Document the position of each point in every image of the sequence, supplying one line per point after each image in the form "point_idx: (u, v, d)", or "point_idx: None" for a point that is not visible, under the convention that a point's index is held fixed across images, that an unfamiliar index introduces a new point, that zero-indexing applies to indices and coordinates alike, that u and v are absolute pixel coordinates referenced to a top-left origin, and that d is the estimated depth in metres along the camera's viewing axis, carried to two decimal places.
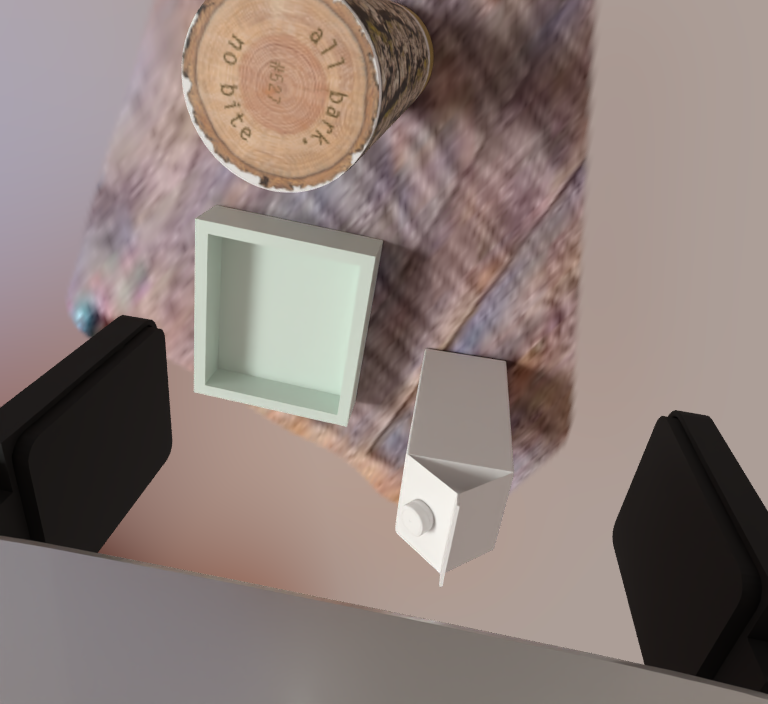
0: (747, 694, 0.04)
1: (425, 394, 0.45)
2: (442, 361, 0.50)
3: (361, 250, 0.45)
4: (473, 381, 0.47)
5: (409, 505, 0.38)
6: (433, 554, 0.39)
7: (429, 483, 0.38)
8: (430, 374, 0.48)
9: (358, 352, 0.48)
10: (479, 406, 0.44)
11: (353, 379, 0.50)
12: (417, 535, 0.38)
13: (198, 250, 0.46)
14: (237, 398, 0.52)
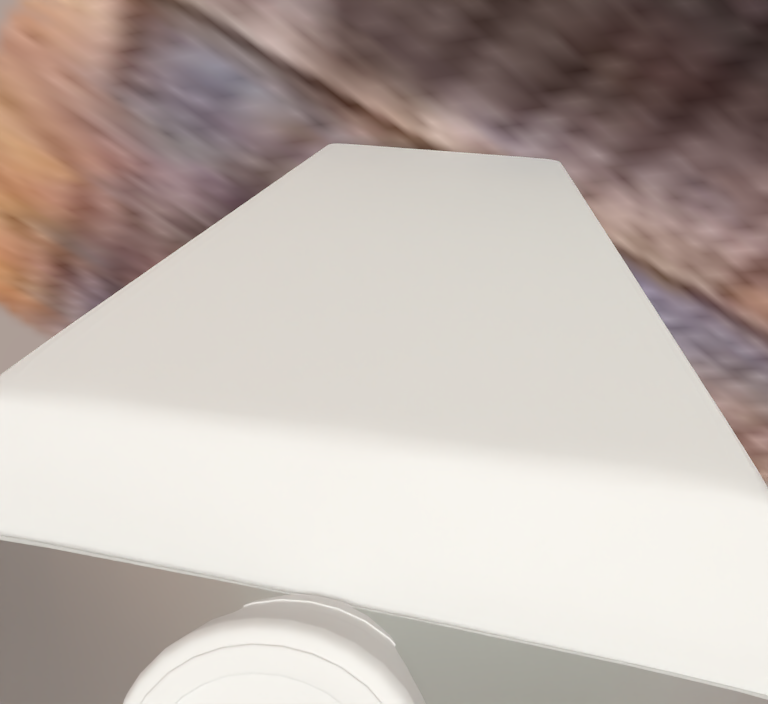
0: (747, 694, 0.04)
1: None
2: None
3: None
4: None
5: None
6: None
7: None
8: None
9: None
10: None
11: None
12: None
13: None
14: None
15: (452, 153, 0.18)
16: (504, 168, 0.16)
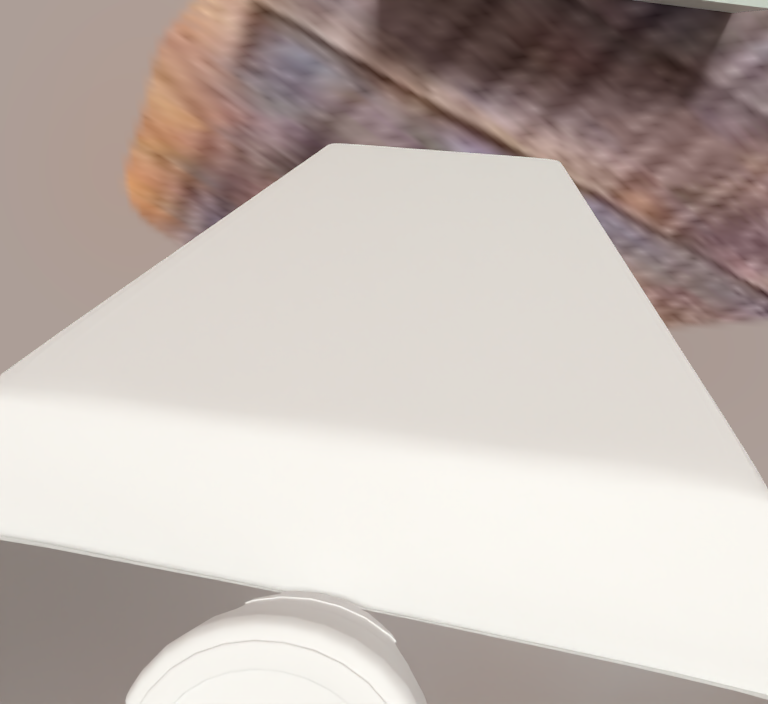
0: (747, 694, 0.04)
1: None
2: None
3: None
4: None
5: None
6: None
7: None
8: None
9: None
10: None
11: None
12: None
13: None
14: None
15: (452, 153, 0.18)
16: (504, 168, 0.16)
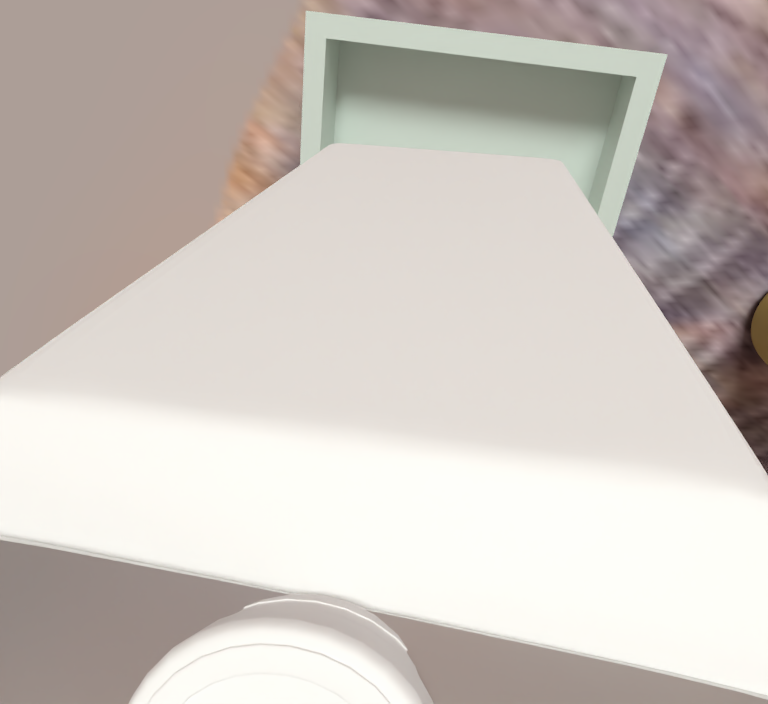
0: (747, 694, 0.04)
1: None
2: None
3: None
4: None
5: None
6: None
7: None
8: None
9: None
10: None
11: None
12: None
13: (606, 54, 0.26)
14: (309, 106, 0.29)
15: (454, 153, 0.18)
16: (506, 168, 0.16)
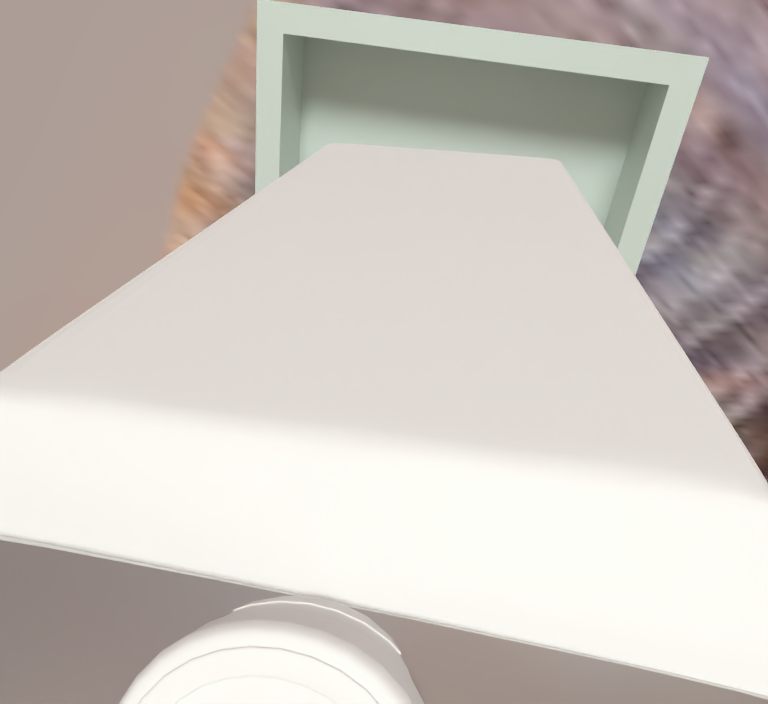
0: (747, 694, 0.04)
1: None
2: None
3: None
4: None
5: None
6: None
7: None
8: None
9: None
10: None
11: None
12: None
13: (632, 56, 0.21)
14: (265, 117, 0.23)
15: (452, 152, 0.18)
16: (504, 167, 0.16)
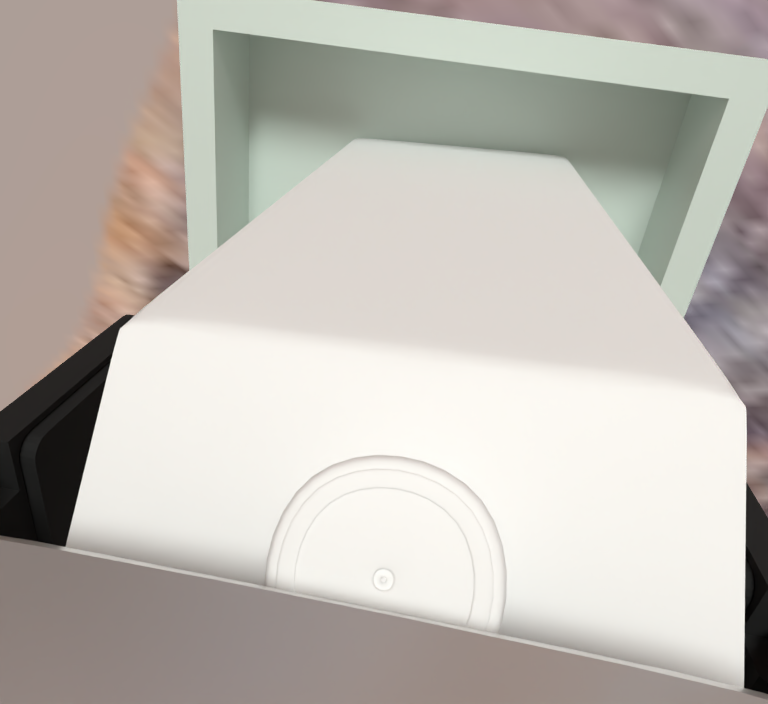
0: (747, 694, 0.04)
1: None
2: None
3: None
4: None
5: (501, 546, 0.05)
6: None
7: (655, 612, 0.06)
8: None
9: None
10: None
11: None
12: None
13: (679, 60, 0.15)
14: (194, 138, 0.18)
15: (468, 148, 0.19)
16: (517, 162, 0.18)
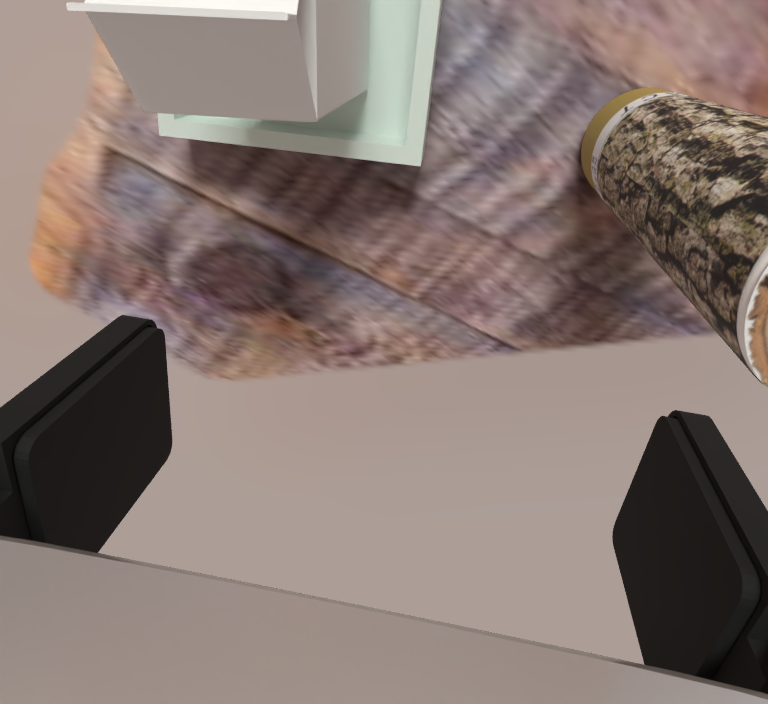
0: (747, 694, 0.04)
1: None
2: None
3: None
4: (358, 39, 0.31)
5: None
6: None
7: None
8: None
9: (282, 148, 0.36)
10: (347, 52, 0.28)
11: (239, 142, 0.36)
12: None
13: None
14: None
15: None
16: None
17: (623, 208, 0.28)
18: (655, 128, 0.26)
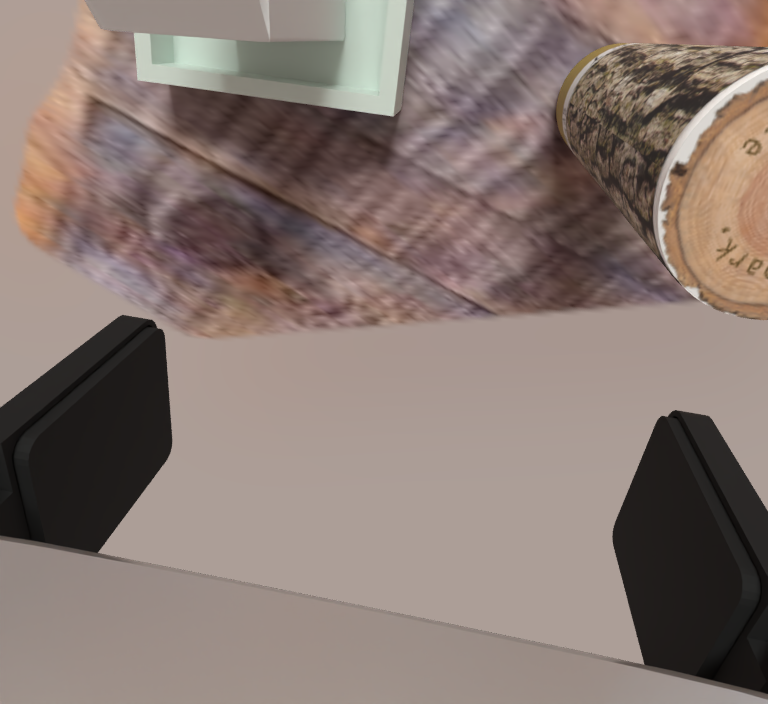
0: (747, 694, 0.04)
1: None
2: None
3: (397, 93, 0.35)
4: None
5: None
6: None
7: None
8: None
9: (257, 95, 0.36)
10: None
11: (215, 89, 0.36)
12: None
13: None
14: None
15: None
16: None
17: (582, 149, 0.28)
18: (615, 67, 0.26)
